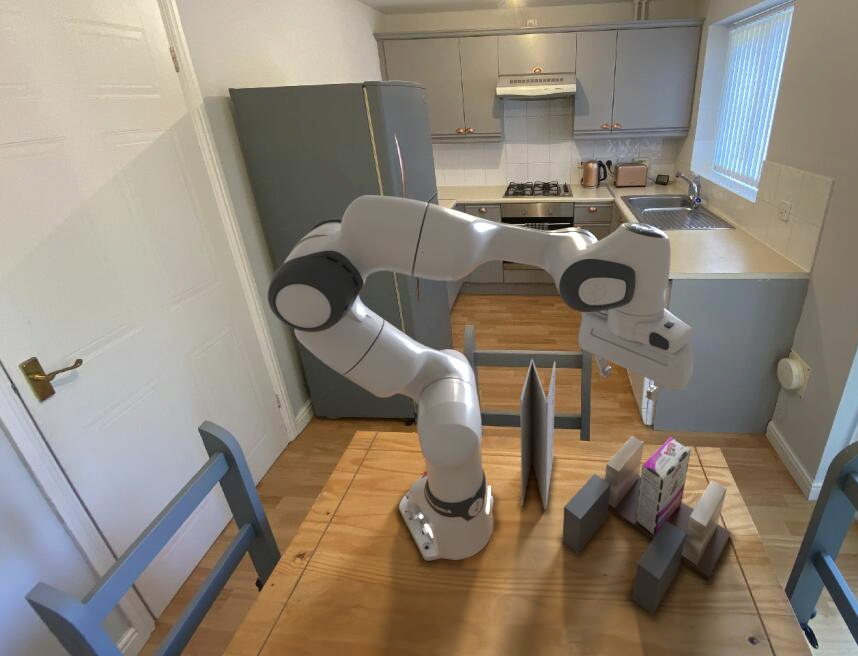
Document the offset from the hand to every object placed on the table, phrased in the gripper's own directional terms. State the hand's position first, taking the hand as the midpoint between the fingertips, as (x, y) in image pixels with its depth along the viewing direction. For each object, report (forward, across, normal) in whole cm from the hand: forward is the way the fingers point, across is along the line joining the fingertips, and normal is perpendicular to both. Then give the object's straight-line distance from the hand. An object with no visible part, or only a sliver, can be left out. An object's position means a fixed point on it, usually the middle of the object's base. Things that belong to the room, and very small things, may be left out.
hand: (627, 386), depth 75 cm
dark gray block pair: (+37, +4, -4) cm, 38 cm away
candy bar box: (+36, +6, +9) cm, 38 cm away
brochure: (+37, -19, -2) cm, 42 cm away
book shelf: (+37, +6, +9) cm, 39 cm away
